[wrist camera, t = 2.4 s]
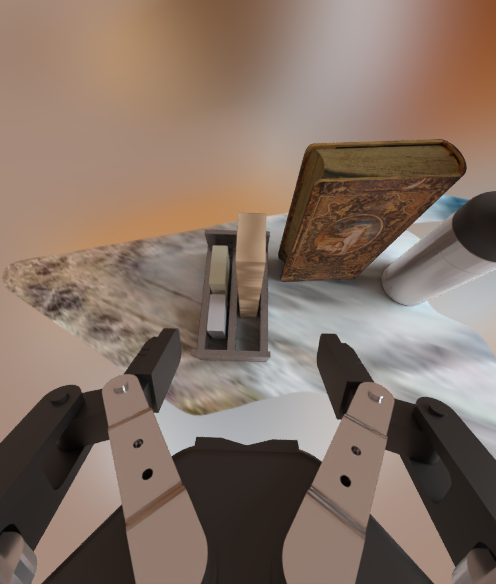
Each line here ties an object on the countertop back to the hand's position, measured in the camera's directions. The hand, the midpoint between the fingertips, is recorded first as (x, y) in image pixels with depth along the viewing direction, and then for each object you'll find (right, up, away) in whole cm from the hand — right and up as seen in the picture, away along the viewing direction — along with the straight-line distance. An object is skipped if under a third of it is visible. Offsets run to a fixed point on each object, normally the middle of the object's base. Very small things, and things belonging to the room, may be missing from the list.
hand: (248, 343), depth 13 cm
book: (+14, +8, +35) cm, 38 cm away
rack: (-2, +1, +32) cm, 32 cm away
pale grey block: (-5, -3, +30) cm, 31 cm away
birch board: (0, +1, +32) cm, 32 cm away
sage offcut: (-5, +4, +33) cm, 34 cm away
